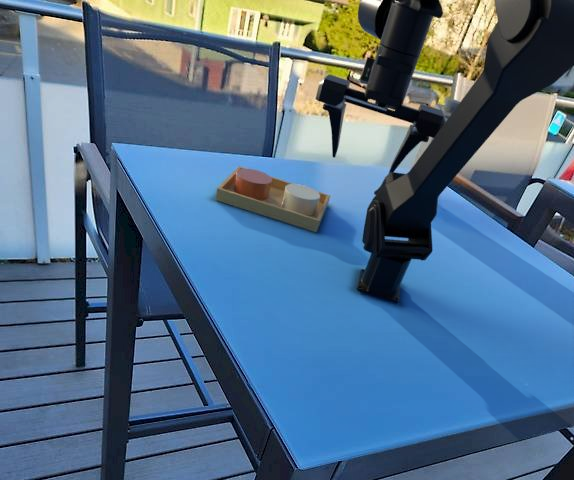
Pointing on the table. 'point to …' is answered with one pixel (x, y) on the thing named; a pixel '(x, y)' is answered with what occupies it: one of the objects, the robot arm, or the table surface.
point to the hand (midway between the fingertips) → (361, 165)
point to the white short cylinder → (300, 199)
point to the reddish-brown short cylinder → (253, 184)
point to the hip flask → (447, 111)
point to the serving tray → (271, 203)
